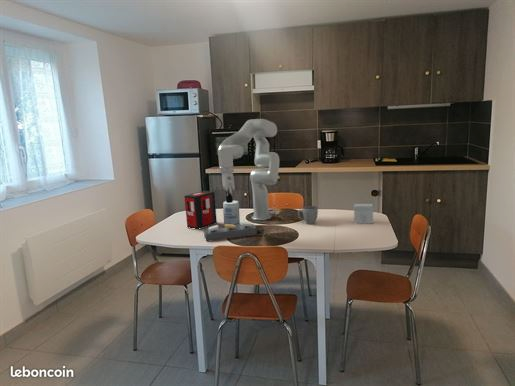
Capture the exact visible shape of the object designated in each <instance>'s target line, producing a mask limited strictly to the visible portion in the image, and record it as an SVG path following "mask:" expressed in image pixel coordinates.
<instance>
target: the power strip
mask: <svg viewBox="0 0 515 386" xmlns="http://www.w3.org/2000/svg"><path fill="white" fill-rule="evenodd" d="M264 230H265V229H264V228H259V229H257V227H256V225H254V223H251V226H242V225H239V226H235V228H226V227H219V229H216V230H213V231H209V229H205V230H203V236H204V240H205V239H206V240H205V241H206V242H210V241H209V240H214V241H219V240H220V241H221V240H228V239H227V238H229V239H235V238H234V237H236V238H243V237H250V236H257V235H258V233H259V232H264Z"/></svg>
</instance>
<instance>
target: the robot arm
mask: <svg viewBox="0 0 515 386" xmlns="http://www.w3.org/2000/svg"><path fill="white" fill-rule="evenodd" d="M277 133H278V127H277V125H276V124H275V122H273V121H270V120H268V119H264V118H255V119H253V118H252V119H248V120H246V122H245V123H244V124H243V125H242V127H241V128H240V129H239V130H238V132H236V133H233V134H232V135H230V136H228V137H227V138H225V139H224V140H223V141H222V142H221V144H220V145H219V147H218V149H217V156H218V166H219V174H221V180H222V188H223V189H224V191H225V201H226V202H227V203H231V202H233V201H234V200H233V191H235V190H236V188H235V187H236V186H235V177H234V171H235V170H234V162H233V161H234V159H239V158H242V157H243V155H244V151H245V150H244V147H243V146H244V145H246V144H249V143H250V141H251V140H252V138H253V139H254V141H255V154H254V165H255V166H256V167H258V168H257V169H256V168H255V169H253V170H252V171H251V172H250V175H249V178H250V179H249V180H250V182H251V189H252V204H253V215H252V216H251V219H252V220H253V221H268V220H271V218H272V215H276V214H277V211H276V210H274V211H273V210H269V195H268V193H269V192H268V189H267V186H266V185H271V186H272V185H275V184H276V183H277V182H278V177H279V169H280V156H279V155H278V153H277V152H274V151H270V143H269V141H268V139H267V138H273V137H275V136H276V135H277ZM267 219H268V220H267Z"/></svg>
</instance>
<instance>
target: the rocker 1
mask: <svg viewBox="0 0 515 386" xmlns="http://www.w3.org/2000/svg"><path fill="white" fill-rule="evenodd" d="M219 228H220V227H219V225H218V224H216V225H215V224H214V225H213V226H212V225H211V226H210V227H209V226H208V227H207V230H209V231H213V230H216V229H219Z"/></svg>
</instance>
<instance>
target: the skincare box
mask: <svg viewBox="0 0 515 386" xmlns="http://www.w3.org/2000/svg"><path fill="white" fill-rule="evenodd" d="M353 209H354V210H353V213H354V214H353V215H354V218H353V219H354V220H353V221H354V224H355V223H356V224H361V223H368V225H369V223H373V224H374V206H373V203H354V205H353Z"/></svg>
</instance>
